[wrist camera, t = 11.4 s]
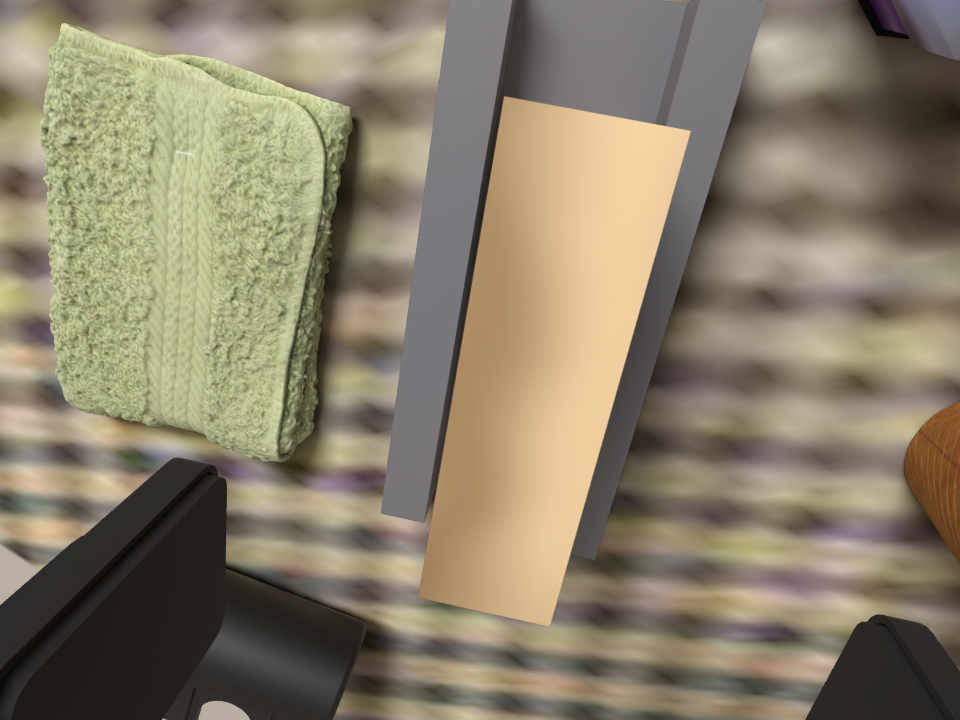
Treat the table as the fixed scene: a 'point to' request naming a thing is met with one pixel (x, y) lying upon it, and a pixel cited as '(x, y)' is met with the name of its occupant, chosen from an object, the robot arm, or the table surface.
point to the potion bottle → (918, 23)
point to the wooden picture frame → (544, 348)
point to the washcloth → (188, 240)
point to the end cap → (274, 656)
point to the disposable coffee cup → (938, 473)
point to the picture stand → (466, 175)
